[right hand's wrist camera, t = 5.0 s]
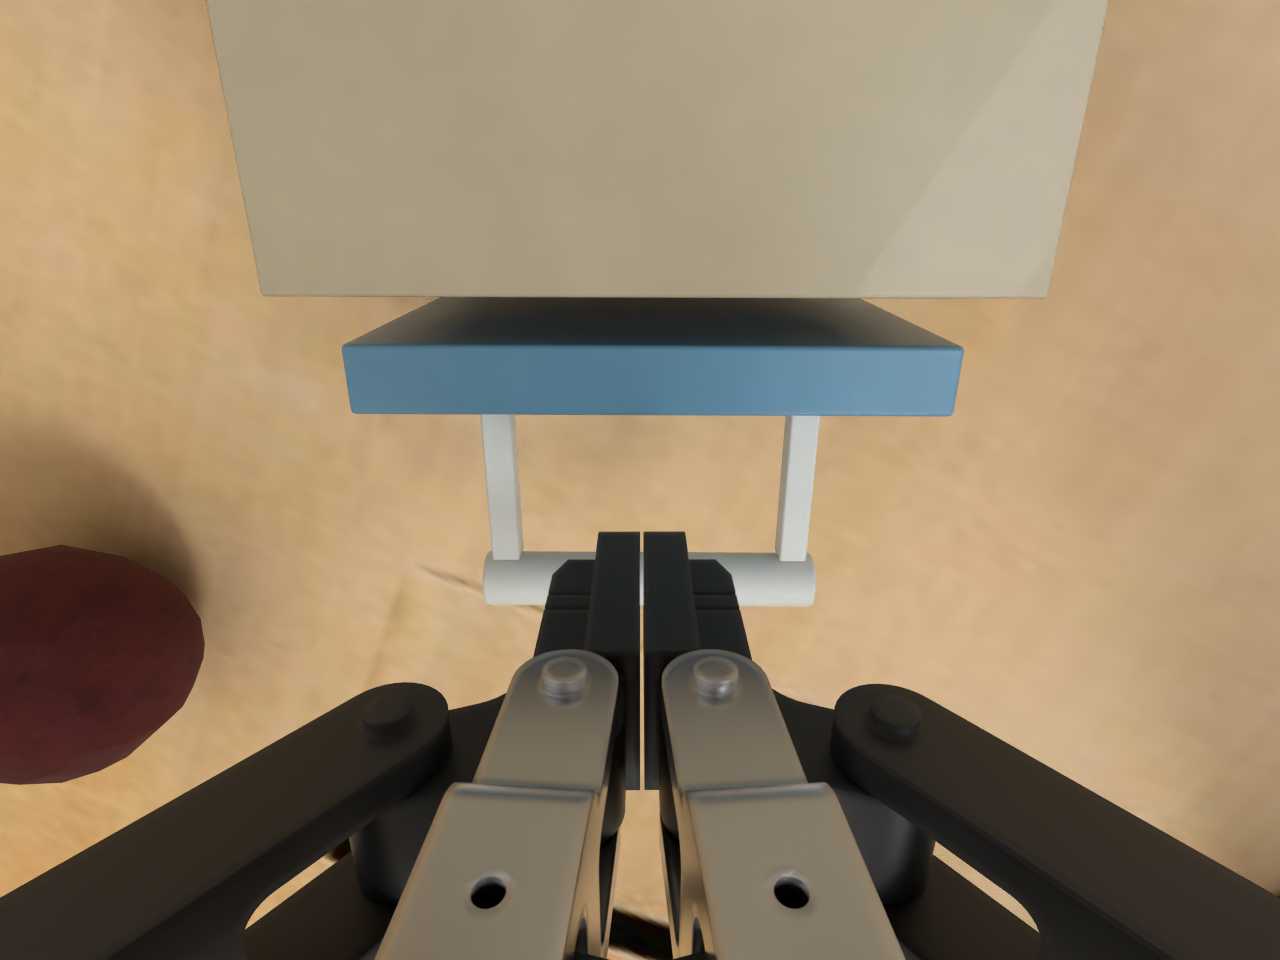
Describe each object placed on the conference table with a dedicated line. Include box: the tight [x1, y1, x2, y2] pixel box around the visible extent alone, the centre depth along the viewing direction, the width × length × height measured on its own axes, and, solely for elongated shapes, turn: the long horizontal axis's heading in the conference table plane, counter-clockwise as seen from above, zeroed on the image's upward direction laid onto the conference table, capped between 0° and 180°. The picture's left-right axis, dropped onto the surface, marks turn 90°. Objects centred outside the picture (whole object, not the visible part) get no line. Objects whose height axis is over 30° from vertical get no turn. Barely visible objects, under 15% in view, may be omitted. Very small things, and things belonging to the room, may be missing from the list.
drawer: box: [342, 297, 964, 607], centre depth 15 cm, size 19×10×10 cm, turn 0°
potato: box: [0, 545, 205, 785], centre depth 22 cm, size 7×8×7 cm
